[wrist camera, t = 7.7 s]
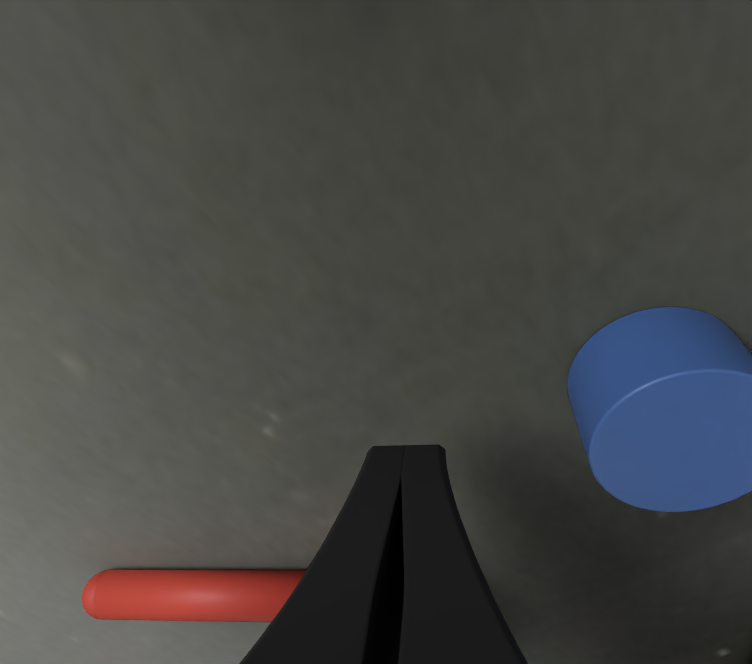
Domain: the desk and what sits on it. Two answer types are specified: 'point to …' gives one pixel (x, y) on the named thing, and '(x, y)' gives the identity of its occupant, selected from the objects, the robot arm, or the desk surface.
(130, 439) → the desk surface
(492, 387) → the desk surface
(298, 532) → the desk surface
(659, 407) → the blue spoon
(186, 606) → the red spoon
